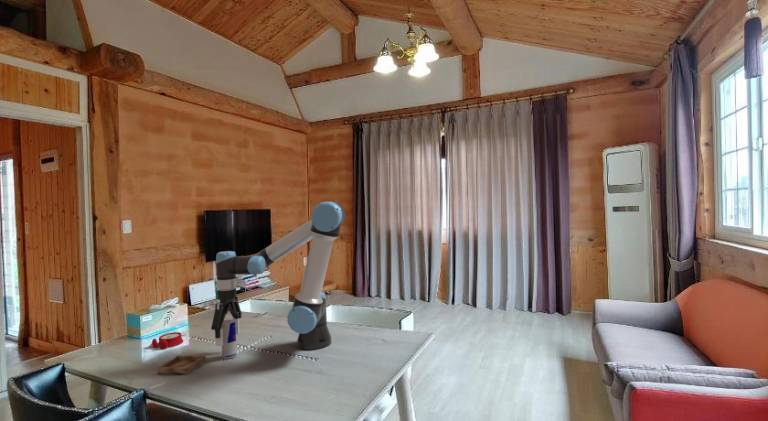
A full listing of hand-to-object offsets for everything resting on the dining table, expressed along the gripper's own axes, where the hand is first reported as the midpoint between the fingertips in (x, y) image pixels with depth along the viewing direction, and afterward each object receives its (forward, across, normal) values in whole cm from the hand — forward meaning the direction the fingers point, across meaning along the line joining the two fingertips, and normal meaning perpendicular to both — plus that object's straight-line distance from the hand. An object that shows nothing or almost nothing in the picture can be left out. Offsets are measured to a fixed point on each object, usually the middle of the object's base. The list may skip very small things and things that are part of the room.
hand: (227, 339), depth 159 cm
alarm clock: (+8, -13, -37) cm, 40 cm away
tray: (+8, +11, -13) cm, 19 cm away
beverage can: (+8, 0, +1) cm, 8 cm away
